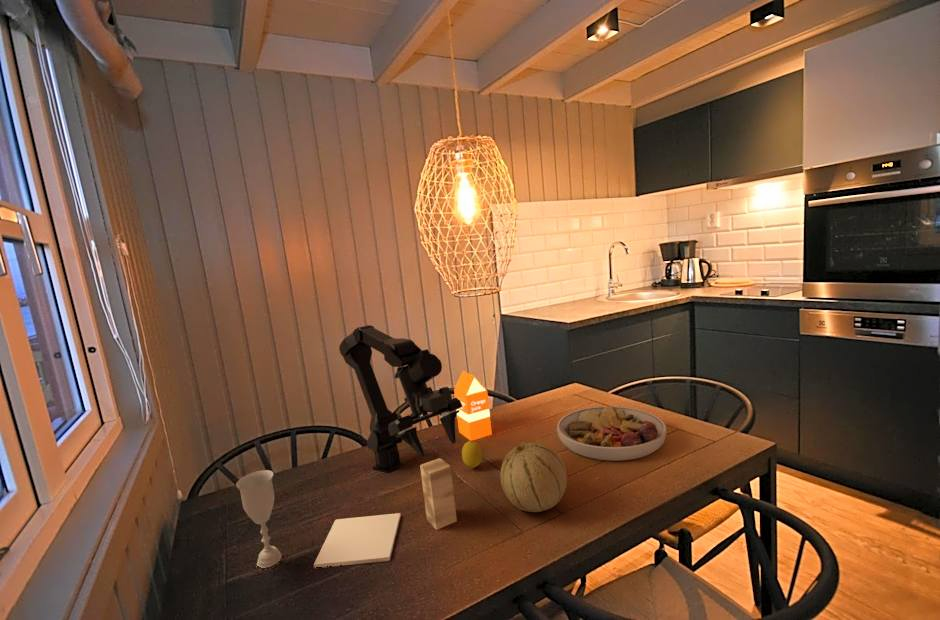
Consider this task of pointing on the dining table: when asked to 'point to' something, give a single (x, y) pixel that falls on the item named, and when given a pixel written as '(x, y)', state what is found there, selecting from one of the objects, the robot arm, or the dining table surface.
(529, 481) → the cantaloupe
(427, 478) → the wood block
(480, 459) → the lemon
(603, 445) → the bowl
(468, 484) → the dining table surface
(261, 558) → the chalice
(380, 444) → the robot arm
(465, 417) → the orange juice
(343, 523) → the tile
